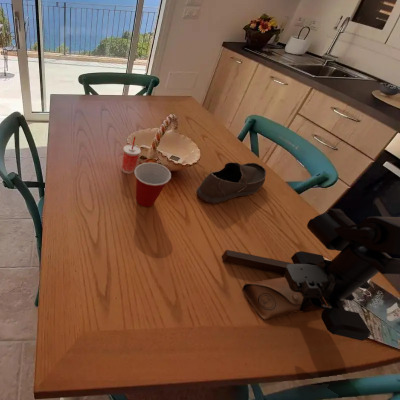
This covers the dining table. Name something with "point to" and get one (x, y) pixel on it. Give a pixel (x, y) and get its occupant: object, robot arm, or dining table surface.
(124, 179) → the dining table surface
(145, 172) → the plastic cup
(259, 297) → the sunglasses case
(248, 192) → the loafer
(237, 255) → the rail
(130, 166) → the beverage cup
